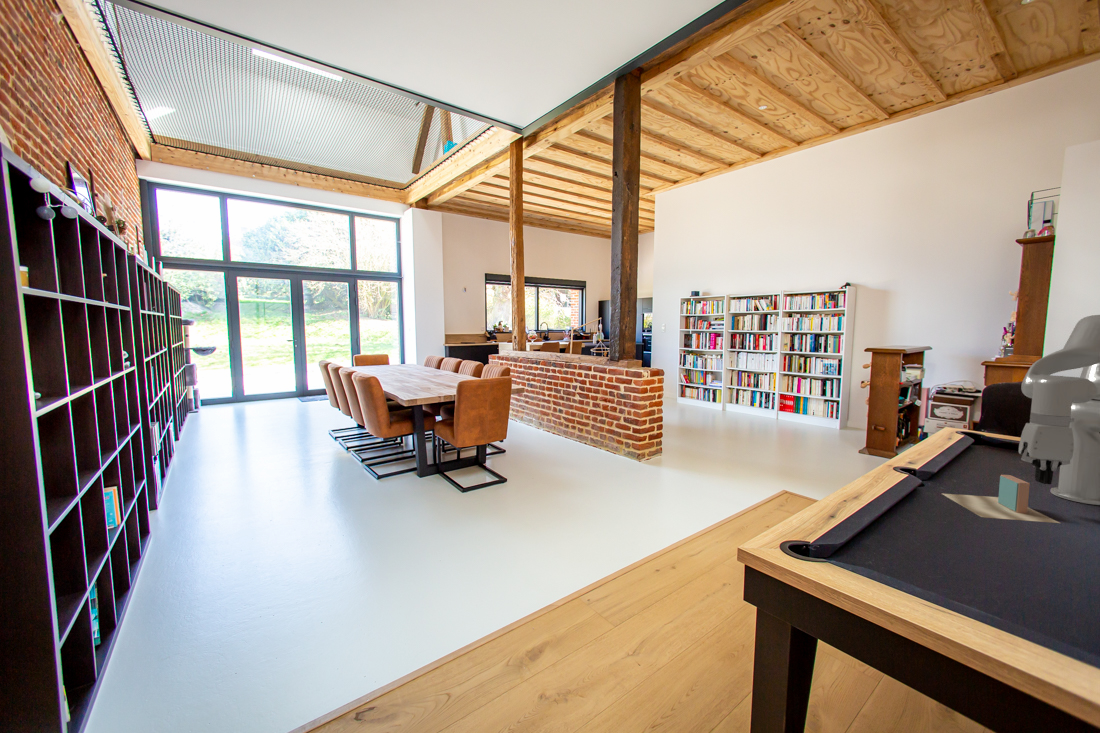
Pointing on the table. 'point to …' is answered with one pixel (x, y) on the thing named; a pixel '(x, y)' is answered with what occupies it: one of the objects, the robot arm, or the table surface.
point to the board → (996, 508)
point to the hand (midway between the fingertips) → (1043, 482)
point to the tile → (1013, 493)
